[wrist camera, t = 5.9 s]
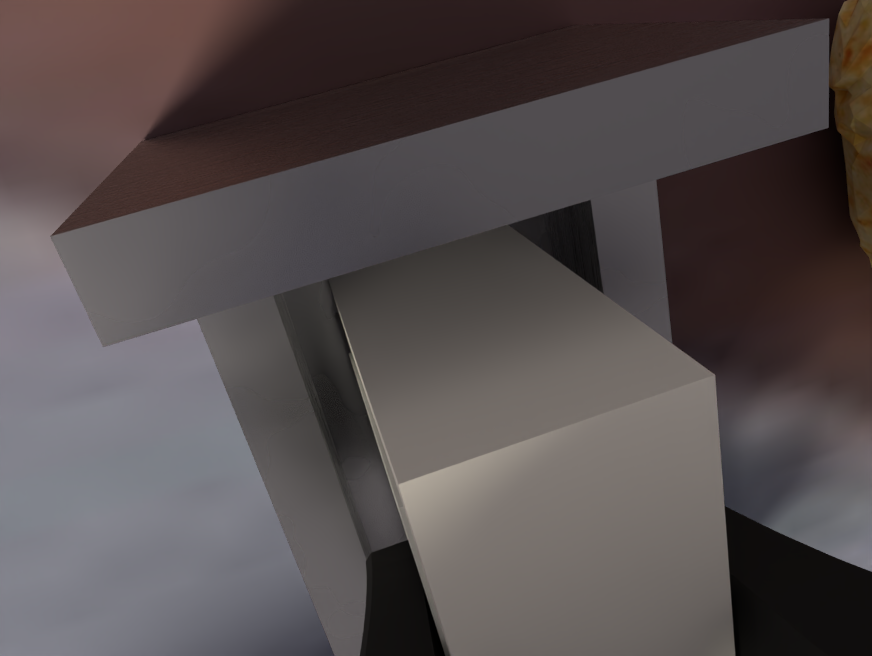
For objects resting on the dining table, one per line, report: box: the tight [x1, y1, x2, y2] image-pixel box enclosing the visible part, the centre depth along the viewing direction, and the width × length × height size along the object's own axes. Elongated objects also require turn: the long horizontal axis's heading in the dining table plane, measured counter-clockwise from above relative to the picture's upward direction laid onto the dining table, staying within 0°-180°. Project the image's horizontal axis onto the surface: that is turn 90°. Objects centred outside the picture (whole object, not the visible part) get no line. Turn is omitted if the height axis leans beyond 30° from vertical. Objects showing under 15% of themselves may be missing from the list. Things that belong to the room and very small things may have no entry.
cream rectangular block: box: [328, 225, 735, 656], centre depth 11 cm, size 8×3×6 cm, turn 13°
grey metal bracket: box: [50, 18, 829, 656], centre depth 12 cm, size 14×7×6 cm, turn 13°
